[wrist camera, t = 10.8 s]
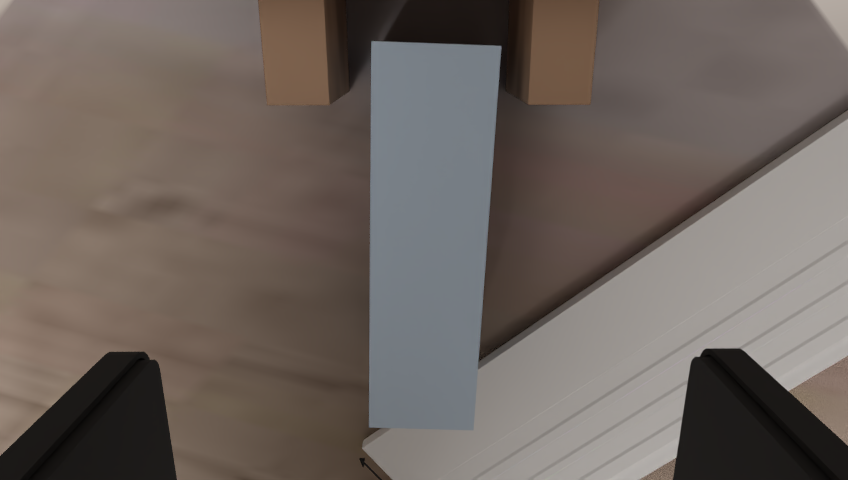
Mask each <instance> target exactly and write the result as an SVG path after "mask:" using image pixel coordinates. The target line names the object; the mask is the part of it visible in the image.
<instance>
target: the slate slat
mask: <svg viewBox="0 0 848 480" xmlns="http://www.w3.org/2000/svg"><path fill="white" fill-rule="evenodd" d="M500 58H501V46H495V45H480V44H453V43H426V42H398V41H371V170H370V335H369V427H370V428H405V429H440V430H474V416H475V403H476V389H477V375H478V361H479V347H480V334H481V320H482V306H483V292H484V279H485V265H486V251H487V237H488V224H489V210H490V196H491V182H492V168H493V155H494V141H495V127H496V113H497V100H498V86H499V72H500Z"/></svg>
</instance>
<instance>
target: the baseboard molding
mask: <svg viewBox="0 0 848 480" xmlns="http://www.w3.org/2000/svg"><path fill="white" fill-rule="evenodd" d="M706 348H740V349H742V350H743V351H745V352H746V353H747V354H748V355H749V356H750V357H751V358H752V359H754V360H755V361H756V362H757V363H758V364H759V365H760V366H761V367H762V368H763V369H764V370H766V371H767V372H768V373H769V374H770V375H771V376H772V377H773V378H774V379H775V380H776V381H778V382H779V383H780V384H781V385H782V386H783V387H784V388H785V389H786V390H787V391H789V390H791V389H793V388H794V387H796V386H798V385H799V384H801V383H803V382H804V381H806V380H808V379H809V378H811V377H813V376H814V375H816V374H818V373H820V372H821V371H823V370H825V369H826V368H828V367H830V366H831V365H833V364H835V363H836V362H838V361H840V360H841V359H843V358H845V357H846V356H848V110H847V111H845V112H844V113H843V114H841V115H840V116H838V117H837V118H835V119H834V120H832V121H831V122H829V123H828V124H826V125H825V126H823V127H822V128H821V129H819V130H818V131H816V132H815V133H813V134H812V135H810V136H809V137H807V138H806V139H804V140H803V141H801V142H800V143H798V144H797V145H796V146H794V147H793V148H791V149H790V150H788V151H787V152H785V153H784V154H782V155H781V156H779V157H778V158H776V159H775V160H774V161H772V162H771V163H769V164H768V165H766V166H765V167H763V168H762V169H760V170H759V171H757V172H756V173H754V174H753V175H752V176H750V177H749V178H747V179H746V180H744V181H743V182H741V183H740V184H738V185H737V186H735V187H734V188H732V189H731V190H730V191H728V192H727V193H725V194H724V195H722V196H721V197H719V198H718V199H716V200H715V201H713V202H712V203H710V204H709V205H708V206H706V207H705V208H703V209H702V210H700V211H699V212H697V213H696V214H694V215H693V216H691V217H690V218H688V219H687V220H686V221H684V222H683V223H681V224H680V225H678V226H677V227H675V228H674V229H672V230H671V231H669V232H668V233H666V234H665V235H664V236H662V237H661V238H659V239H658V240H656V241H655V242H653V243H652V244H650V245H649V246H647V247H646V248H644V249H643V250H642V251H640V252H639V253H637V254H636V255H634V256H633V257H631V258H630V259H628V260H627V261H625V262H624V263H622V264H621V265H619V266H618V267H617V268H615V269H614V270H612V271H611V272H609V273H608V274H606V275H605V276H603V277H602V278H600V279H599V280H597V281H596V282H595V283H593V284H592V285H590V286H589V287H587V288H586V289H584V290H583V291H581V292H580V293H578V294H577V295H575V296H574V297H573V298H571V299H570V300H568V301H567V302H565V303H564V304H562V305H561V306H559V307H558V308H556V309H555V310H553V311H552V312H551V313H549V314H548V315H546V316H545V317H543V318H542V319H540V320H539V321H537V322H536V323H534V324H533V325H531V326H530V327H529V328H527V329H526V330H524V331H523V332H521V333H520V334H518V335H517V336H515V337H514V338H512V339H511V340H509V341H508V342H507V343H505V344H504V345H502V346H501V347H499V348H498V349H496V350H495V351H493V352H492V353H490V354H489V355H487V356H486V357H485V358H483V359H482V360H480V361H479V362H478V375H477V389H476V403H475V416H474V430H440V429H405V428H380V429H379V430H377V431H376V432H374V433H373V434H372V435H370V436H369V437H367V438H366V439H364V441H363V444H362V449H363V450H364V451H365V452H366V453H367V454H368V455H369V456H370V457H371V458H372V459H373V460H374V461H375V462H376V463H377V464H378V465H379V466H380V467H381V468H382V469H383V471H384V472H385V473H386V474H387V475H388V476H389V477H390V478H391V479H392V480H639V479H641V478H643V477H644V476H646V475H648V474H649V473H651V472H653V471H655V470H656V469H658V468H660V467H661V466H663V465H665V464H666V463H668V462H670V461H671V460H673V459H675V458H676V457H677V450H678V444H679V437H680V430H681V424H682V417H683V410H684V404H685V397H686V390H687V384H688V377H689V370H690V365H691V361H692V359H693V358H694V357H700V355H701V353H702V351H703V350H705V349H706ZM360 461H361V464H362V466H363V467H364V464H365V465H366V466H367V467H368V468H369V469H370V470H371V471H372V472H373V473H374V474H375V475H376V476H377V477H378V478H379V479H380V480H382V479H381V478H380V477H379V476H378V475H377V474H376V473H375V472H374V471H373V470H372V469H371V468H370V467H369V466H368V465H367V464H366V463H365V462H364V461H365V458H360Z"/></svg>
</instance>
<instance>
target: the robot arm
mask: <svg viewBox="0 0 848 480" xmlns="http://www.w3.org/2000/svg"><path fill="white" fill-rule="evenodd" d="M0 480H177V478H176V471H175V465H174V458H173V452H172V445H171V439H170V432H169V426H168V419H167V413H166V406H165V400H164V393H163V387H162V380H161V373H160V368H159V364H158V363H157V361H156V360H150V359H149V357H148V355H147V354H146V353H145V352H109V353H107V354H106V355H105V356H103V357H102V358H101V359H100V360H99V361H98V362H97V363H96V364H95V365H94V366H93V367H92V368H91V369H90V370H89V371H88V372H87V373H86V374H85V375H84V376H83V377H82V378H81V379H80V380H79V381H78V382H77V383H75V384H74V385H73V386H72V387H71V388H70V389H69V390H68V391H67V392H66V393H65V394H64V395H63V396H62V397H61V398H60V399H59V400H58V401H57V402H56V403H55V404H54V405H53V406H52V407H51V408H50V409H48V410H47V411H46V412H45V413H44V414H43V415H42V416H41V417H40V418H39V419H38V420H37V421H36V422H35V423H34V424H33V425H32V426H31V427H30V428H29V429H28V430H27V431H26V432H25V433H24V434H23V435H22V436H20V437H19V438H18V439H17V440H16V441H15V442H14V443H13V444H12V445H11V446H10V447H9V448H8V449H7V450H6V451H5V452H4V453H3V454H2V455H1V456H0ZM673 480H848V446H847V445H846V444H845V443H844V442H843V441H842V440H841V439H840V438H839V437H838V436H836V435H835V434H834V433H833V432H832V431H831V430H830V429H829V428H828V427H827V426H826V425H824V424H823V423H822V422H821V421H820V420H819V419H818V418H817V417H816V416H815V415H814V414H812V413H811V412H810V411H809V410H808V409H807V408H806V407H805V406H804V405H803V404H802V403H800V402H799V401H798V400H797V399H796V398H795V397H794V396H793V395H792V394H791V393H790V392H788V391H787V390H786V389H785V388H784V387H783V386H782V385H781V384H780V383H779V382H778V381H776V380H775V379H774V378H773V377H772V376H771V375H770V374H769V373H768V372H767V371H766V370H764V369H763V368H762V367H761V366H760V365H759V364H758V363H757V362H756V361H755V360H754V359H752V358H751V357H750V356H749V355H748V354H747V353H746V352H745V351H743V350H742V349H740V348H706V349H705V350H703V351H702V353H701V355H700V357H694V358H693V359H692V361H691V365H690V370H689V377H688V384H687V390H686V397H685V404H684V410H683V417H682V424H681V430H680V437H679V444H678V450H677V457H676V464H675V470H674V477H673Z"/></svg>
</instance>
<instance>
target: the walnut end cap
mask: <svg viewBox="0 0 848 480" xmlns="http://www.w3.org/2000/svg"><path fill="white" fill-rule="evenodd" d="M258 4H259V16H260V28H261V40H262V51H263V63H264V75H265V87H266V99H267V105H330V104H332V103H333V102H334V101H336V100H337V99H339V98H340V97H342V96H343V95H345V94H346V93H347V92H349V70H348V45H347V21H346V0H258ZM598 11H599V0H509V22H508V46H507V70H506V91H507V92H508V93H510V94H512V95H513V96H515V97H516V98H518V99H520V100H521V101H523V102H525V103H526V104H528V105H590V103H591V92H592V80H593V69H594V57H595V45H596V34H597V22H598Z"/></svg>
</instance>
